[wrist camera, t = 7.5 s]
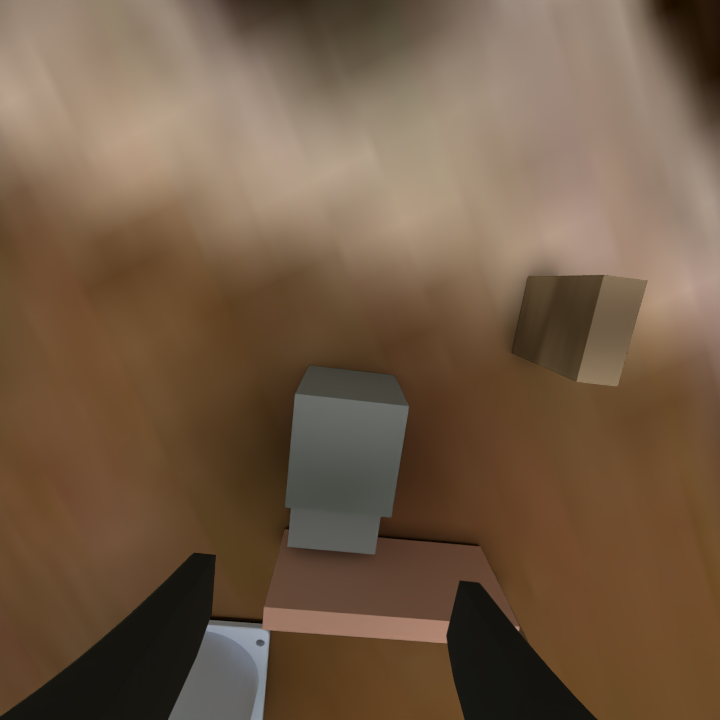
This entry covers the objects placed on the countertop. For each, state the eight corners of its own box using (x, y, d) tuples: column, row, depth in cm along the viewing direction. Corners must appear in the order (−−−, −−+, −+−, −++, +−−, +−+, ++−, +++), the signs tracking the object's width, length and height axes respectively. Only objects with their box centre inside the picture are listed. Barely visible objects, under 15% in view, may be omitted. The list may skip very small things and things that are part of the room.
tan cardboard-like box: (481, 616, 22) (522, 722, 17) (455, 614, 22) (489, 720, 17) (559, 280, 18) (647, 280, 13) (528, 276, 18) (604, 275, 13)
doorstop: (372, 522, 21) (378, 596, 16) (294, 515, 21) (277, 587, 16) (394, 374, 19) (409, 406, 14) (309, 364, 19) (295, 393, 14)
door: (480, 546, 21) (519, 626, 16) (476, 563, 21) (514, 648, 16) (284, 529, 20) (263, 607, 16) (282, 547, 21) (262, 629, 16)
